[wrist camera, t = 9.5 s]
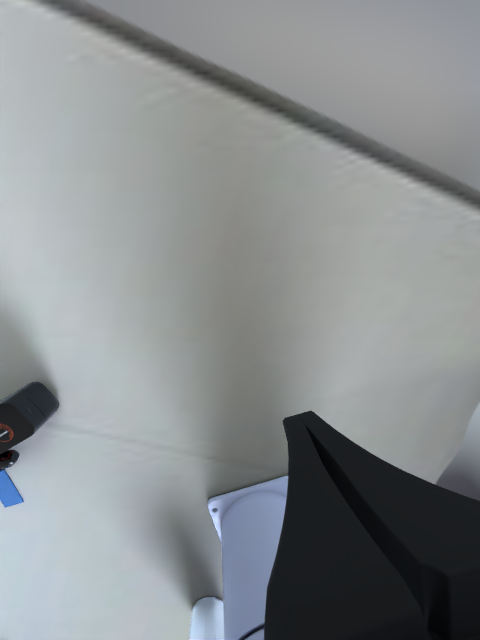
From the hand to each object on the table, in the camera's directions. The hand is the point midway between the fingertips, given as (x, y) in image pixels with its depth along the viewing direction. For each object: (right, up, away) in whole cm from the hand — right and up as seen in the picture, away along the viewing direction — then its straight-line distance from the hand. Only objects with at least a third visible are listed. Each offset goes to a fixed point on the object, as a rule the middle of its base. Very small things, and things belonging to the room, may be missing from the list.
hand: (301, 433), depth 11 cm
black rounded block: (-20, -3, +9) cm, 22 cm away
